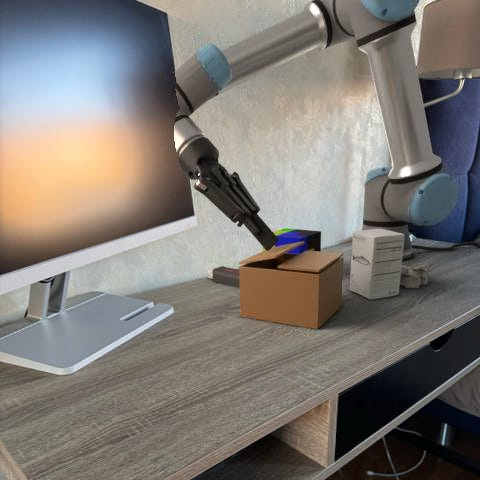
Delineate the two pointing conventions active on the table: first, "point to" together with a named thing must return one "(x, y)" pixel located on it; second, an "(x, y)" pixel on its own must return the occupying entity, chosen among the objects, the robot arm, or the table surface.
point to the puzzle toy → (299, 239)
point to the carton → (292, 288)
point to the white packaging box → (376, 263)
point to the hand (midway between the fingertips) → (273, 245)
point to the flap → (271, 253)
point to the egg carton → (414, 276)
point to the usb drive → (225, 276)
